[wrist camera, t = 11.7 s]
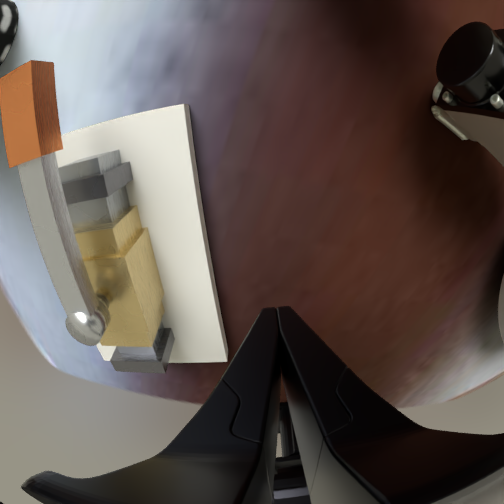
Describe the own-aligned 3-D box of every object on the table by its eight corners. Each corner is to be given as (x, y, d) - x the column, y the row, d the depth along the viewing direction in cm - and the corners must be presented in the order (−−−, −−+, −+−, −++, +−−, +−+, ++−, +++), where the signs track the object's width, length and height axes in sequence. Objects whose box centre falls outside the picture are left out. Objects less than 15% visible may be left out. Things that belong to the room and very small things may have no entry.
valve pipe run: (180, 346, 24) (171, 385, 20) (129, 346, 24) (115, 382, 20) (131, 146, 17) (100, 158, 13) (70, 161, 17) (33, 177, 13)
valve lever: (121, 316, 17) (105, 347, 14) (92, 316, 17) (74, 345, 14) (64, 64, 10) (31, 60, 8) (33, 78, 10) (-2, 79, 8)
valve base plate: (228, 349, 26) (227, 361, 25) (109, 349, 26) (104, 360, 25) (188, 104, 17) (183, 104, 16) (41, 143, 17) (29, 146, 16)
